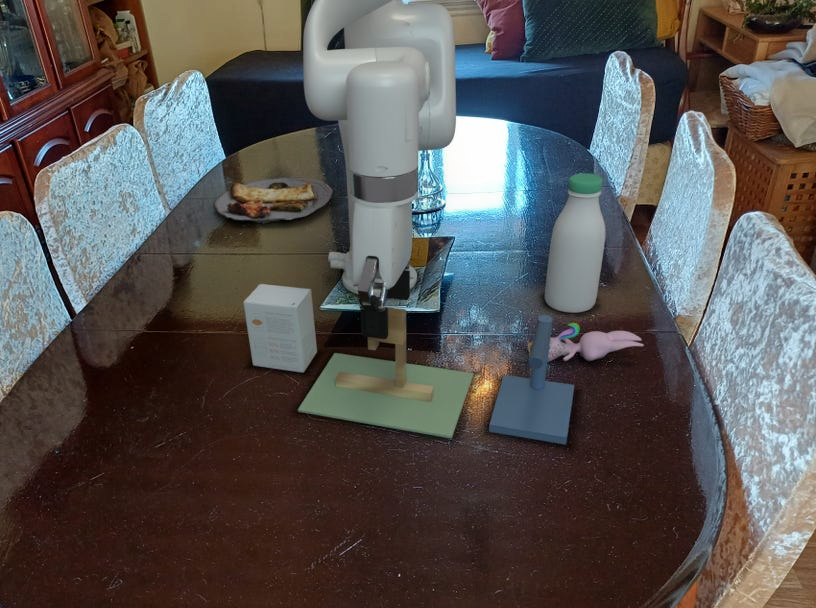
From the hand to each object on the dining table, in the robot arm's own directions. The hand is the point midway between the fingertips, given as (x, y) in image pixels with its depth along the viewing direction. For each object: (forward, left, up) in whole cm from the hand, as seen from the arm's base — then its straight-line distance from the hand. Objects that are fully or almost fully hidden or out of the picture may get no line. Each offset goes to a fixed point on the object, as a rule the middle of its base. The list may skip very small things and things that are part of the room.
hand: (386, 316), depth 90 cm
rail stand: (+19, +1, -12) cm, 22 cm away
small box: (-16, +4, -12) cm, 21 cm away
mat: (0, 0, -12) cm, 12 cm away
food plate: (-42, +59, -12) cm, 73 cm away
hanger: (0, 0, -11) cm, 11 cm away
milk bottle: (+21, +31, -12) cm, 39 cm away
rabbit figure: (+24, +15, -12) cm, 30 cm away
